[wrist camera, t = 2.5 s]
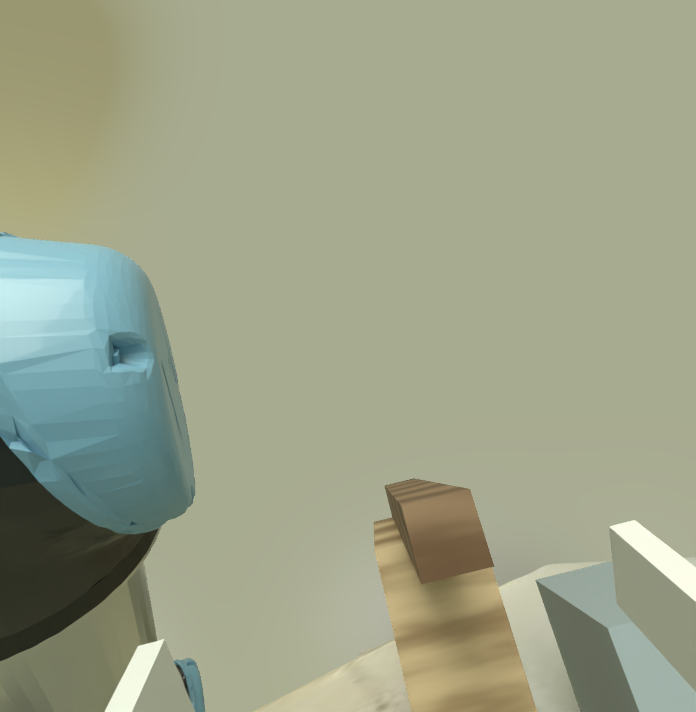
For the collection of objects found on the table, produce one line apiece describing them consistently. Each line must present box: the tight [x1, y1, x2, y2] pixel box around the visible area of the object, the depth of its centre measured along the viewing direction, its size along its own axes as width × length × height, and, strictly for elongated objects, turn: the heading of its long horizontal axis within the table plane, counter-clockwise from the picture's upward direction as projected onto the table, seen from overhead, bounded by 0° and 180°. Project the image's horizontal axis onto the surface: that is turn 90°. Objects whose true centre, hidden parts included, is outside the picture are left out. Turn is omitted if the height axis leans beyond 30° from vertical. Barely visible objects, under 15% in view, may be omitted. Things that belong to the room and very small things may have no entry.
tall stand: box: [374, 517, 537, 712], centre depth 35 cm, size 18×9×30 cm, turn 176°
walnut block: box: [385, 479, 494, 584], centre depth 35 cm, size 30×4×4 cm, turn 176°
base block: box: [536, 562, 696, 712], centre depth 34 cm, size 14×9×20 cm, turn 176°
